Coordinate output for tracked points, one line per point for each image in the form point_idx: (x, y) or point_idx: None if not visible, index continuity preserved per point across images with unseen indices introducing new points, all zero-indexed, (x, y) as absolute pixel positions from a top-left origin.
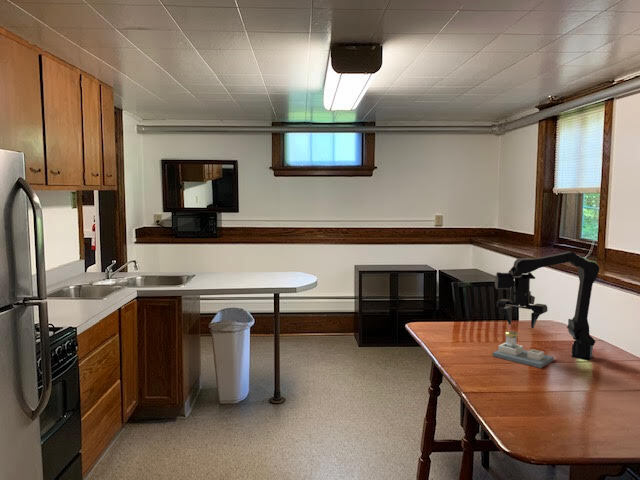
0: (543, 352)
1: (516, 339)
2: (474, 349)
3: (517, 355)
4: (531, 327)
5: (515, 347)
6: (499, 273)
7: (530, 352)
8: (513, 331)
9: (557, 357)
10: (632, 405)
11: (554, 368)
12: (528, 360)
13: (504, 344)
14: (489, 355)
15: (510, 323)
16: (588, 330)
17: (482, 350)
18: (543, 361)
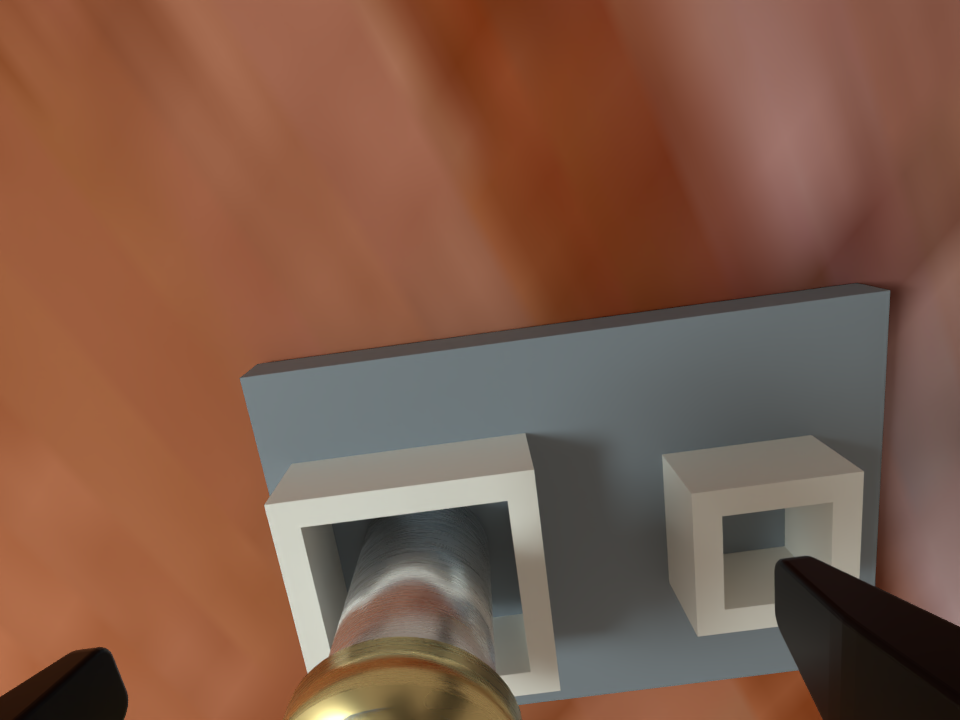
0: (858, 485)
1: (484, 645)
2: (58, 645)
3: (558, 605)
4: (799, 665)
5: (490, 592)
6: None
7: (737, 628)
8: (361, 690)
9: (841, 83)
10: None
11: (943, 508)
12: (726, 654)
13: (320, 603)
14: (293, 680)
15: (101, 712)
16: None
17: (128, 606)
18: (860, 557)
